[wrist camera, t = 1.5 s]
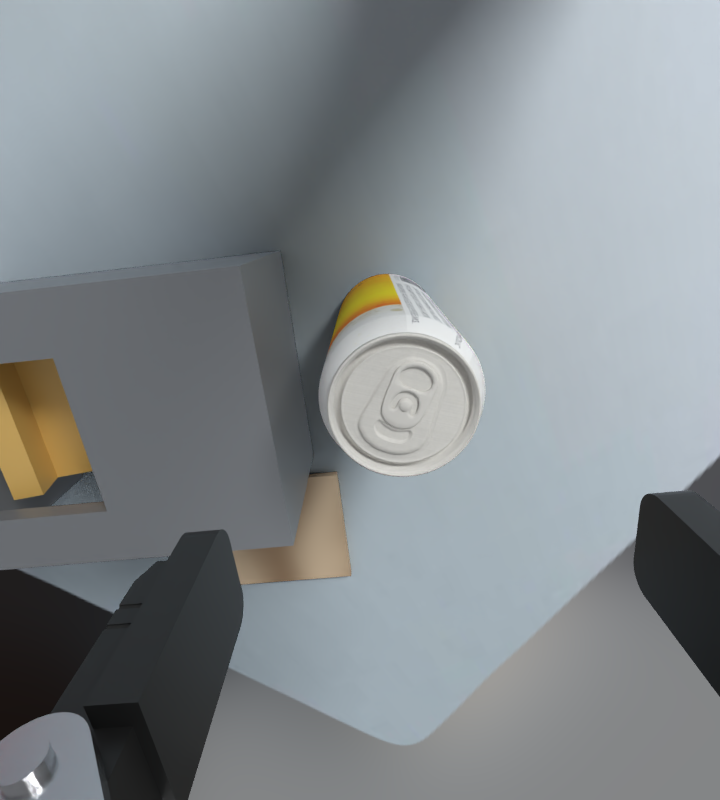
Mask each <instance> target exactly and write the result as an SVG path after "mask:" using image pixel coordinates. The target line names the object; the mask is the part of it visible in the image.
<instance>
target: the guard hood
mask: <svg viewBox="0 0 720 800" xmlns="http://www.w3.org/2000/svg"><path fill="white" fill-rule="evenodd" d="M51 358H53V360H54V363H55V366H56V369H57V371H58V374H59V377H60V380H61V383H62V386H63V388H64V391H65V394H66V397H67V400H68V403H69V405H70V408H71V411H72V414H73V417H74V420H75V422H76V425H77V428H78V431H79V434H80V437H81V439H82V442H83V445H84V448H85V451H86V454H87V456H88V459H89V462H90V465H91V468H92V471H93V473H94V476H95V479H96V482H97V485H98V488H99V490H100V493H101V496H102V499H103V502H93V503H82V504H71V505H60V506H51V505H52V504H54V503H55V502H56V501H57V500H58V499H59V498H60V497H61V496H62V495H63V494H65V493H66V492H67V491H68V490H69V489H70V488H71V487H72V486H73V485H74V484H75V483H77V482H78V481H79V480H80V479H81V478H82V477H83V474H82V473H79V474H74V475H68V476H63V477H58V478H57V479H56V480H55V482H54V483H53V484H52V485H51V486H50V488H49V489H48V490H47V491H46V492H45V494H44V495H40V496H34V497H29V498H24V499H18V500H14V499H13V496H12V494H11V492H10V489H9V487H8V485H7V482H6V480H5V478H4V475H3V473H2V471H1V468H0V570H8V569H20V568H32V567H44V566H56V565H68V564H80V563H92V562H104V561H116V560H128V559H140V558H152V557H164V556H170V555H171V553H172V551H173V550H174V548H175V546H176V545H177V543H178V541H179V539H180V538H181V536H182V535H183V534H184V533H186V532H198V531H209V530H221V529H223V530H225V531H226V532H227V534H228V536H229V539H230V543H231V547H232V551H236V550H248V549H260V548H272V547H284V546H294V541H295V537H296V532H297V528H298V523H299V519H300V514H301V510H302V505H303V500H304V496H305V491H306V487H307V482H308V478H309V473H310V469H311V464H312V460H313V449H312V443H311V436H310V430H309V424H308V418H307V412H306V406H305V399H304V393H303V387H302V381H301V375H300V368H299V362H298V356H297V350H296V344H295V337H294V331H293V325H292V319H291V313H290V307H289V300H288V294H287V288H286V282H285V276H284V269H283V263H282V257H281V251H273V252H264V253H255V254H246V255H238V256H229V257H220V258H212V259H203V260H194V261H185V262H177V263H168V264H159V265H150V266H142V267H133V268H124V269H116V270H107V271H98V272H89V273H81V274H72V275H63V276H54V277H46V278H37V279H28V280H20V281H11V282H2V283H0V364H4V363H14V362H23V361H33V360H42V359H51Z"/></svg>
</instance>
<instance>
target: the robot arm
mask: <svg viewBox="0 0 720 800" xmlns="http://www.w3.org/2000/svg"><path fill="white" fill-rule="evenodd" d="M634 571H635V576H636V579H637V582H638V585H639V587H640V589H641V591H642V593H643V595H644V596H645V597H646V599H647V600H648V601H649V603H650V604H651V605H652V607H653V608H654V610H655V611H656V612H657V613H658V615H659V616H660V617H661V619H662V620H663V621H664V623H665V624H666V625H667V627H668V628H669V630H670V631H671V632H672V634H673V635H674V636H675V638H676V639H677V640H678V642H679V643H680V644H681V646H682V647H683V648H684V650H685V651H686V652H687V654H688V655H689V656H690V658H691V659H692V660H693V662H694V663H695V664H696V666H697V667H698V668H699V670H700V671H701V672H702V674H703V675H704V676H705V678H706V679H707V680H708V682H709V683H710V684H711V686H712V687H713V688H714V690H715V691H716V692H717V694H718V695H719V696H720V512H719V511H718V510H717V509H716V508H714V507H713V506H712V505H711V504H709V503H708V502H707V501H706V500H705V499H703V498H702V497H701V496H700V495H698V494H697V493H696V492H693V491H689V490H688V491H676V492H665V493H653V494H647V495H645V496H644V497H643V499H642V501H641V504H640V511H639V520H638V528H637V536H636V545H635V553H634ZM242 617H243V593H242V588H241V584H240V580H239V576H238V572H237V567H236V563H235V559H234V555H233V551H232V547H231V543H230V539H229V536H228V534H227V532H226V531H225V530H223V529H221V530H209V531H198V532H186V533H184V534H183V535H182V536H181V538H180V539H179V541H178V543H177V545H176V546H175V548H174V550H173V551H172V553H171V555H170V557H169V558H168V560H167V561H157V562H156V563H155V564H154V565H153V566H151V567H150V568H149V569H148V570H147V571H146V572H145V573H144V574H142V575H141V576H140V577H139V578H138V579H137V580H136V581H135V582H134V583H133V584H132V586H131V588H130V589H129V591H128V592H127V594H126V595H125V597H124V599H123V600H122V602H121V603H120V608H119V609H118V610H116V611H115V613H114V614H113V616H112V618H111V619H110V621H109V622H108V624H107V629H106V630H103V632H102V633H101V635H100V636H99V638H98V639H97V641H96V643H95V644H94V646H93V647H92V649H91V651H90V652H89V654H88V655H87V657H86V658H85V660H84V662H83V663H82V664H81V666H80V668H79V669H78V671H77V673H76V674H75V675H74V677H73V679H72V680H71V682H70V683H69V685H68V686H67V688H66V690H65V691H64V693H63V694H62V696H61V697H60V699H59V701H58V702H57V704H56V705H55V707H54V709H53V710H52V711H51V713H50V714H49V715H45V716H43V717H40V718H37V719H35V720H33V721H31V722H29V723H27V724H25V725H23V726H21V727H20V728H18V729H17V730H15V731H13V732H12V733H11V734H9V735H8V736H6V737H5V738H4V739H2V740H1V741H0V800H188V797H189V794H190V791H191V787H192V784H193V781H194V778H195V774H196V771H197V768H198V764H199V761H200V758H201V754H202V751H203V748H204V745H205V741H206V738H207V735H208V732H209V728H210V725H211V722H212V718H213V715H214V712H215V708H216V705H217V702H218V699H219V696H220V692H221V689H222V685H223V682H224V679H225V676H226V672H227V669H228V666H229V663H230V659H231V656H232V653H233V650H234V646H235V643H236V640H237V636H238V633H239V630H240V627H241V623H242Z"/></svg>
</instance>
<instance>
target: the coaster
mask: <svg viewBox="0 0 720 800" xmlns="http://www.w3.org/2000/svg"><path fill="white" fill-rule="evenodd" d="M233 555H234V559H235V563H236V567H237V572H238V576H239V580H240V584H241V585H242V584H254V583H267V582H279V581H292V580H304V579H317V578H329V577H342V576H351V565H350V558H349V551H348V545H347V538H346V531H345V524H344V517H343V510H342V503H341V496H340V489H339V482H338V475H337V472H327V473H316V474H309V478H308V482H307V487H306V491H305V496H304V500H303V505H302V510H301V514H300V519H299V523H298V528H297V532H296V537H295V541H294V546H284V547H272V548H260V549H248V550H236V551H233Z"/></svg>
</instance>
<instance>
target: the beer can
mask: <svg viewBox="0 0 720 800" xmlns="http://www.w3.org/2000/svg"><path fill="white" fill-rule="evenodd" d="M484 403H485V379H484V374H483V370H482V367H481V365H480V362H479V360H478V358H477V356H476V354H475V352H474V351H473V349H472V348H471V347H470V345H469V344H468V343H467V342H466V340H465V339H464V338H463V337H462V335H461V334H460V333H459V332H458V331H457V329H456V328H455V327H454V326H453V325H452V323H451V322H450V321H449V320H448V319H447V317H446V316H445V315H444V314H443V313H442V311H441V310H440V309H439V308H438V306H437V305H436V304H435V303H434V302H433V300H432V299H431V298H430V297H429V296H428V294H427V293H426V292H425V291H424V290H423V289H422V288H421V287H420V286H419V285H418V284H417V283H415V282H414V281H412V280H410V279H408V278H406V277H403V276H400V275H395V274H380V275H375V276H372V277H369V278H367V279H365V280H363V281H361V282H360V283H358V284H357V285H356V286H355V287H354V288H353V289H351V291H350V292H349V293H348V294H347V296H346V297H345V299H344V301H343V303H342V305H341V308H340V311H339V315H338V318H337V322H336V325H335V329H334V332H333V336H332V339H331V343H330V346H329V350H328V353H327V357H326V360H325V364H324V367H323V371H322V374H321V379H320V383H319V407H320V412H321V415H322V419H323V421H324V424H325V426H326V428H327V430H328V432H329V434H330V435H331V437H332V438H333V439H334V441H335V442H336V443H337V444H338V445H339V446H340V447H341V448H342V450H343V451H344V452H345V453H346V454H347V455H348V456H349V457H350V458H351V459H353V460H354V461H355V462H357V463H358V464H359V465H361V466H363V467H365V468H367V469H368V470H371V471H373V472H376V473H379V474H383V475H388V476H397V477H409V476H417V475H421V474H425V473H428V472H431V471H434V470H436V469H438V468H440V467H442V466H444V465H445V464H447V463H449V462H450V461H451V460H453V459H454V458H455V457H456V456H457V455H459V454H460V453H461V452H462V451H463V449H464V448H465V447H466V446H467V444H468V443H469V441H470V440H471V439H472V437H473V435H474V433H475V431H476V428H477V425H478V423H479V420H480V417H481V415H482V412H483V408H484Z"/></svg>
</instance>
